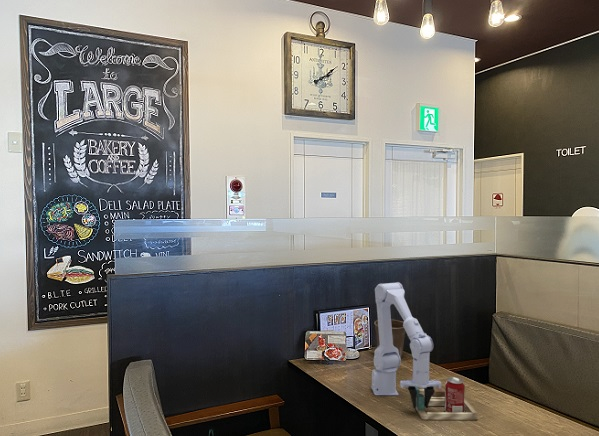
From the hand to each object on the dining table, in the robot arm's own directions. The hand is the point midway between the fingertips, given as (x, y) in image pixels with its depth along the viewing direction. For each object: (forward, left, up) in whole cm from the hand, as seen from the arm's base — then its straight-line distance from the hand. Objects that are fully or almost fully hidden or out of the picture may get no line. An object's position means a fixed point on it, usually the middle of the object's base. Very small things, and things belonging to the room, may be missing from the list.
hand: (420, 406), depth 166 cm
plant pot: (+2, +62, -2) cm, 62 cm away
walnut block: (+10, +11, -2) cm, 15 cm away
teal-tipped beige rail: (+9, 0, -2) cm, 9 cm away
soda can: (+12, 0, -2) cm, 13 cm away
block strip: (+8, +11, -2) cm, 14 cm away
